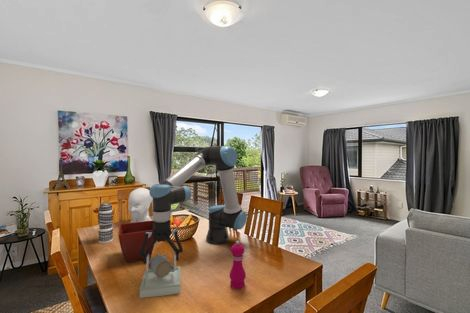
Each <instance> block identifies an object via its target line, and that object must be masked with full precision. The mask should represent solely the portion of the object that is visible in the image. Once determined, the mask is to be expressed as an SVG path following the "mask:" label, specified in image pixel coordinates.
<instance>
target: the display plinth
mask: <svg viewBox="0 0 470 313" xmlns="http://www.w3.org/2000/svg"><path fill="white" fill-rule="evenodd" d="M177 294H178V295H180V294H181V266H176V269H175V271H174V272H169V274H168V275H167V276H165V277H158V276H156V275H155V274H154V273H153V272H152V271H151V269H150V268H149V272H147V269H145V271H144V273H143V277H142V280H141V283H140V287H139V299H144V298H151V297H159V296H170V295H177Z"/></svg>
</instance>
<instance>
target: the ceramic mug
mask: <svg viewBox="0 0 470 313" xmlns="http://www.w3.org/2000/svg"><path fill="white" fill-rule="evenodd" d="M149 269H151V271H152V272H153V273H154V274H155V275H156V276H158V277H165V276H167V275H168V274H169V272H174V271H175V269H174V265H173V264H171V262H170V261H169V260H168V259H167V257H166V256H165V255H163V254H161V253H158V254H155V255H154V256H151V258H150V259H149Z"/></svg>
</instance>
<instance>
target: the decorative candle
mask: <svg viewBox="0 0 470 313" xmlns="http://www.w3.org/2000/svg"><path fill="white" fill-rule="evenodd" d="M113 215H114V210H113V204H111V202H103V203H102V202H101V203H100V204H99V205H98V214H97V219H98V224H97V225H98V227H99V228H98V239H97V240H98V243H99V244H107V243H111V242H112V241H113V240H114V238H113V237H114V234H113V233H114V232H113V230H114V229H113V223H114V222H113V220H114V216H113Z"/></svg>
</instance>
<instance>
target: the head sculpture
mask: <svg viewBox="0 0 470 313" xmlns="http://www.w3.org/2000/svg"><path fill="white" fill-rule="evenodd" d="M151 204H153V198H152V197H151V196H150V189H148V188H145V187H138V188H135V189H133V190H132V191H131V192H130V193H129V195H128V213H129V215H130V218H131V220H130V222H129V223H135V222H144V221H153V219H152V217H150V213H149V209H150V206H151Z"/></svg>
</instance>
